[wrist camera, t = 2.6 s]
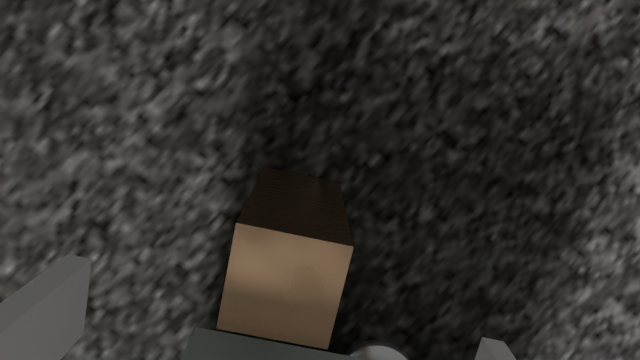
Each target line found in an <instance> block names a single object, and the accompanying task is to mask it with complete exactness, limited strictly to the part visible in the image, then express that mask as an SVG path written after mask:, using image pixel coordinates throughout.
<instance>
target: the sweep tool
mask: <svg viewBox="0 0 640 360" xmlns="http://www.w3.org/2000/svg"><path fill="white" fill-rule="evenodd" d="M353 248H354V245H353V241H352V236H351V232H350V228H349V223H348V219H347V214H346V210H345V205H344V201H343V196H342V192H341V188H340V183H339V182H335V181H331V180H326V179H321V178H317V177H312V176H307V175H302V174H298V173H293V172H288V171H284V170H279V169H274V168H270V167H264V169H263V171H262V173H261V175H260V177H259V179H258V181H257V183H256V185H255V187H254V189H253V190H252V192H251V194H250V196H249V198H248V200H247V202H246V204H245V206H244V208H243V210H242V212H241V214H240V216H239V218H238V220H237V222H236V226H235V231H234V236H233V242H232V247H231V252H230V258H229V263H228V268H227V274H226V279H225V284H224V290H223V295H222V300H221V306H220V311H219V316H218V322H217V327H216V329H221V330H226V331H232V332H237V333H242V334H248V335H253V336H257V339H261V340H267V341H272V342H276V341H277V340H279V341H285V342H290V343H295V344H301V345H306V346H311V347H317V348H322V349H327V350H328V346H329V342H330V338H331V334H332V330H333V326H334V322H335V318H336V314H337V311H338V307H339V303H340V299H341V295H342V291H343V287H344V283H345V279H346V275H347V271H348V268H349V264H350V260H351V256H352V252H353Z"/></svg>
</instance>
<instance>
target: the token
mask: <svg viewBox="0 0 640 360" xmlns="http://www.w3.org/2000/svg"><path fill="white" fill-rule="evenodd" d="M344 355H347V356H352V357H357V358H363V359H368V360H409V358H408V356H407V355H406V353H405V352H404V351H403V350H402V349H401V348H400V347H398V346H397V345H395V344H393V343H390V342H387V341H383V340H368V341H364V342H361V343H359V344H356V345H355V346H353V347H351V348H350V349H349V350H348V351H347V352H346V353H345V354H344Z"/></svg>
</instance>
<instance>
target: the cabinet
mask: <svg viewBox="0 0 640 360" xmlns="http://www.w3.org/2000/svg"><path fill="white" fill-rule="evenodd" d="M181 360H368V359H363V358H357V357H352V356H347V355H341V354H336V353H331V352H325V351H320V350H315V349H309V348H304V347H299V346H293V345H288V344H283V343H277V342H272V341H267V340H261V339H256V338H251V337H245V336H240V335H235V334H229V333H224V332H219V331H214V330H208V329H203V328H198V327H196V328H195V330H194V332H193V334H192V336H191V339H190V341H189V343H188V345H187V347H186V349H185V352H184V354H183V356H182V358H181Z"/></svg>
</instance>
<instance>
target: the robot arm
mask: <svg viewBox="0 0 640 360" xmlns="http://www.w3.org/2000/svg"><path fill="white" fill-rule="evenodd" d="M91 262H92V259H88V258H83V257H78V256H73V255H66V256H65V257H64V258H62V259H61V260H60V261H58V262H57V263H55V264H54V265H53V266H51V267H50V268H48V269H47V270H46V271H44V272H43V273H41V274H40V275H39V276H37V277H36V278H34V279H33V280H32V281H30V282H29V283H27V284H26V285H25V286H23V287H22V288H20V289H19V290H18V291H16V292H15V293H14V294H12V295H11V296H9V297H8V298H7V299H5V300H4V301H2V302H1V303H0V360H60V359H61V358H62V357H63V356H64V355H65V354H66V353H67V352H68V351H69V349H70V348H71V347H72V346H73V345H74V344H75V343H76V342H77V341H78V340H79V338H80V337H81V336H82V335H83V332H84V323H85V314H86V306H87V297H88V288H89V280H90V271H91ZM475 360H516V358H515V357H514V355H513V354H512V353H511V351H510V350H509V348H508V347H507V345H506V344H505V343H504V341H499V340H494V339H489V338H484V337H482V339H481V342H480V345H479V348H478V351H477V354H476V357H475Z"/></svg>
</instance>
